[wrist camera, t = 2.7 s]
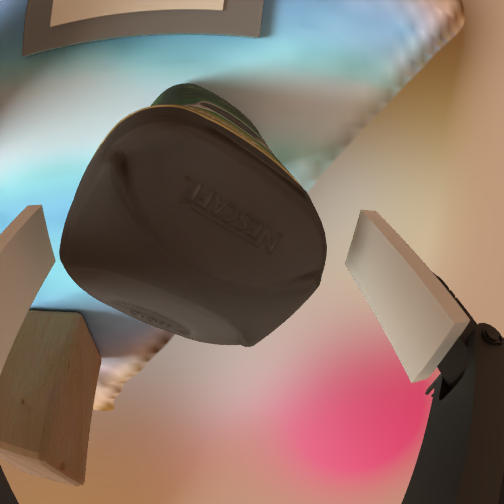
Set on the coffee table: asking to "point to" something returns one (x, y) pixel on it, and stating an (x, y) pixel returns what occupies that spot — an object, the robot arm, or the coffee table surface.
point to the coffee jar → (194, 223)
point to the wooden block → (49, 396)
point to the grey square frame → (134, 20)
